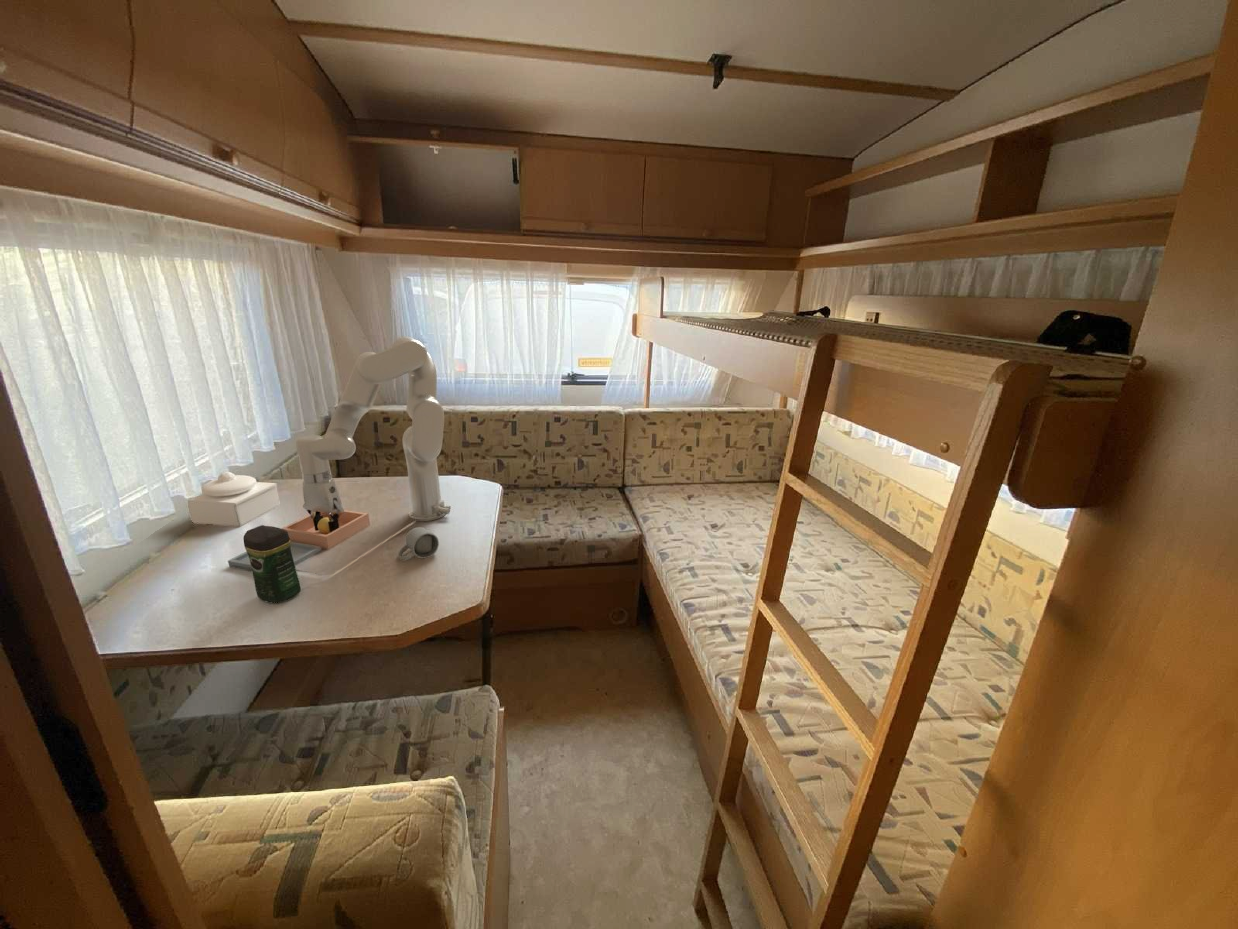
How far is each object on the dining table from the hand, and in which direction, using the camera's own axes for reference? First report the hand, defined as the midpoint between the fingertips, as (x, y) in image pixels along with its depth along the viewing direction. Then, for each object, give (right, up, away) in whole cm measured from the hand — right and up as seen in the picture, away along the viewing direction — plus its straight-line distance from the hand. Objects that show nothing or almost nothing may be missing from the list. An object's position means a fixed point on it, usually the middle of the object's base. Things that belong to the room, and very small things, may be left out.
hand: (327, 529), depth 158 cm
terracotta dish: (0, -2, +1) cm, 2 cm away
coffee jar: (+5, -13, -30) cm, 33 cm away
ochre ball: (0, -1, 0) cm, 1 cm away
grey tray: (-6, -7, -14) cm, 17 cm away
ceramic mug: (+33, -6, -9) cm, 35 cm away
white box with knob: (-39, +3, +14) cm, 41 cm away
